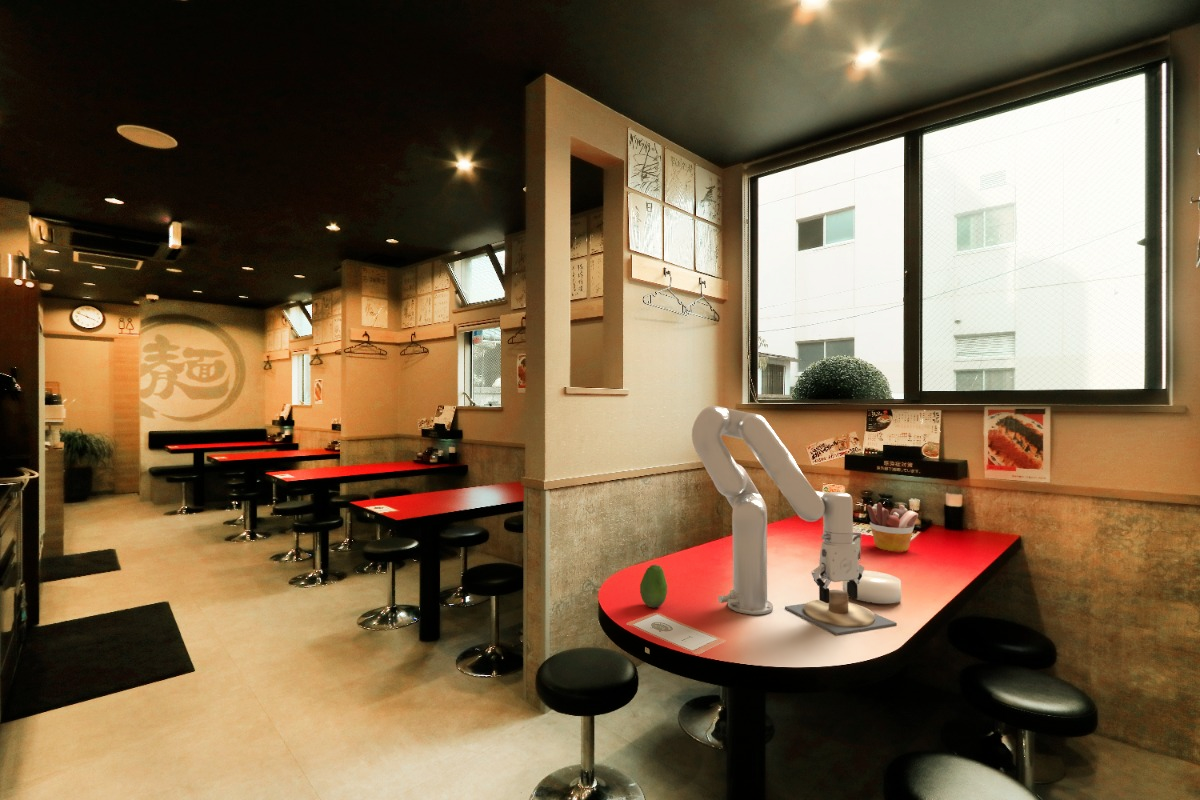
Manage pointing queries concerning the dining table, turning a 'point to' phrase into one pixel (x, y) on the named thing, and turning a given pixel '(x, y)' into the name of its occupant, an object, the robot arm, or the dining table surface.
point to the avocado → (653, 586)
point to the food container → (857, 543)
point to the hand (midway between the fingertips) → (838, 599)
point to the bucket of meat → (891, 527)
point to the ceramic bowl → (877, 587)
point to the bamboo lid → (839, 611)
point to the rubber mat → (841, 630)
